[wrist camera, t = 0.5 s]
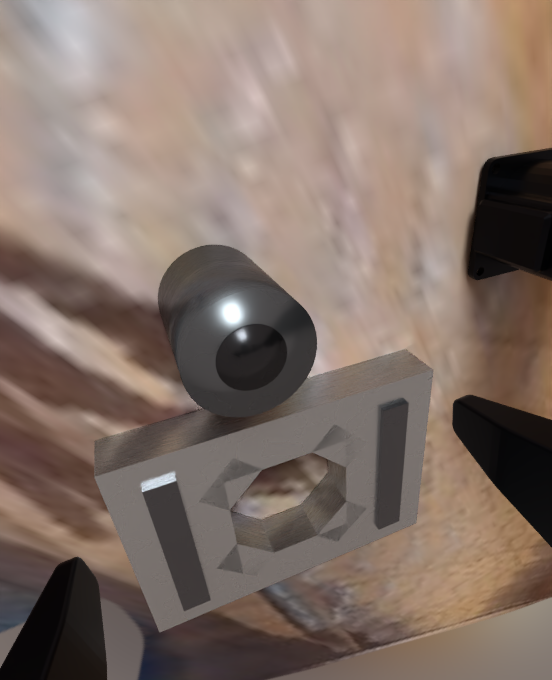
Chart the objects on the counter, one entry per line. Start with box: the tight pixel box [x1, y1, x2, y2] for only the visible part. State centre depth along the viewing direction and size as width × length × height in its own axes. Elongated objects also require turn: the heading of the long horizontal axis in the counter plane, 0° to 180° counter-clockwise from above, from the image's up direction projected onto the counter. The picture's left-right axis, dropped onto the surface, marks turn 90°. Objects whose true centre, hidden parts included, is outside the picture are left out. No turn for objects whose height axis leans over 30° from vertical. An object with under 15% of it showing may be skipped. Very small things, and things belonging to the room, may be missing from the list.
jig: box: [94, 350, 433, 632], centre depth 25 cm, size 18×13×3 cm
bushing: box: [158, 245, 317, 417], centre depth 17 cm, size 5×5×6 cm
